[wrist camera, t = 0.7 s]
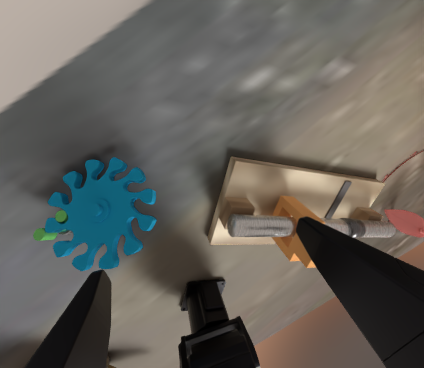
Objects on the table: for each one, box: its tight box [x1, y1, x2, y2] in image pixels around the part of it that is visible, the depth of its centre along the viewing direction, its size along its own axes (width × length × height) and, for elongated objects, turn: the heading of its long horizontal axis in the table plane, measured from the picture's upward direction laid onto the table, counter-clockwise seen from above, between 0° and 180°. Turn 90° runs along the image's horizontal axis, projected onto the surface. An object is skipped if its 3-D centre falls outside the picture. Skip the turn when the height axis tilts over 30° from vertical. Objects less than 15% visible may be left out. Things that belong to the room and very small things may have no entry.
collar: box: [272, 196, 325, 268], centre depth 23 cm, size 5×2×7 cm, turn 166°
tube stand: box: [208, 157, 396, 245], centre depth 27 cm, size 12×26×6 cm, turn 76°
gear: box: [33, 157, 157, 271], centre depth 19 cm, size 11×6×10 cm
